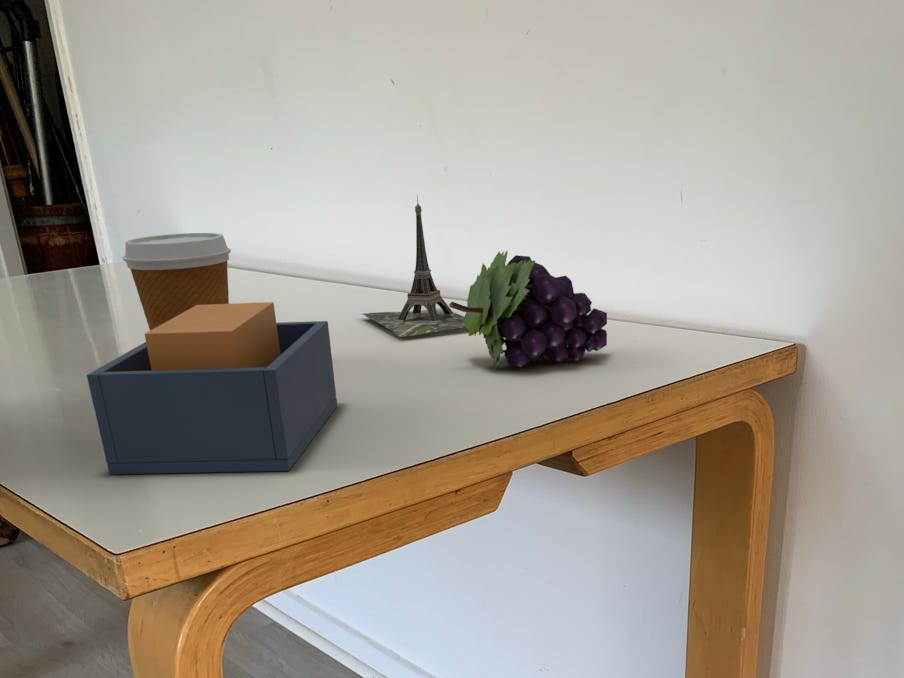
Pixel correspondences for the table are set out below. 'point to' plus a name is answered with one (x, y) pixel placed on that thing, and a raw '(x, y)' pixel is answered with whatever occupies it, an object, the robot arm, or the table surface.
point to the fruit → (531, 313)
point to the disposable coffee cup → (178, 273)
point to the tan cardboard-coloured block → (216, 338)
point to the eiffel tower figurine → (420, 300)
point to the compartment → (216, 409)
